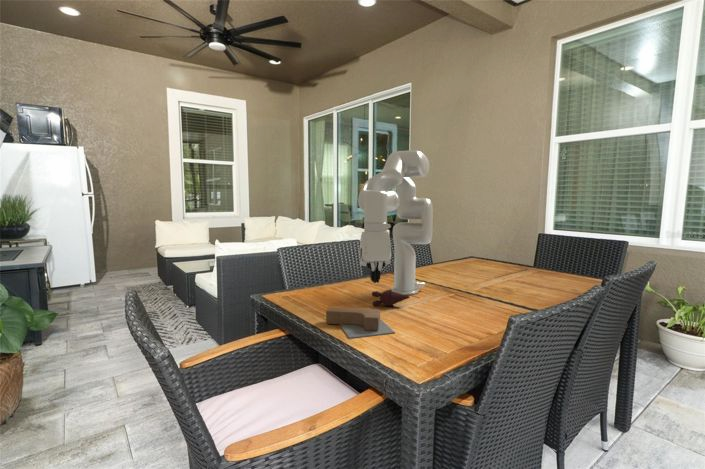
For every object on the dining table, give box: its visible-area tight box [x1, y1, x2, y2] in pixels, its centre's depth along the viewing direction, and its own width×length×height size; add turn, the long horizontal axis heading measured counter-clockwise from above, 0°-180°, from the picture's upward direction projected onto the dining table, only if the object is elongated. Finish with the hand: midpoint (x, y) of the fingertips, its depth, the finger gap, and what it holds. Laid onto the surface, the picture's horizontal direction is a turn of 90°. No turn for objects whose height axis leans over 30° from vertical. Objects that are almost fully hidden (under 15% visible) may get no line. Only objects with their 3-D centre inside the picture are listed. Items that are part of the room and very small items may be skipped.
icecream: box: [371, 288, 411, 307], centre depth 141 cm, size 7×7×15 cm
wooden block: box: [325, 306, 381, 331], centre depth 119 cm, size 9×4×18 cm
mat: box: [338, 318, 396, 339], centre depth 120 cm, size 15×20×1 cm
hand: (375, 281), depth 120 cm, fingers closed
